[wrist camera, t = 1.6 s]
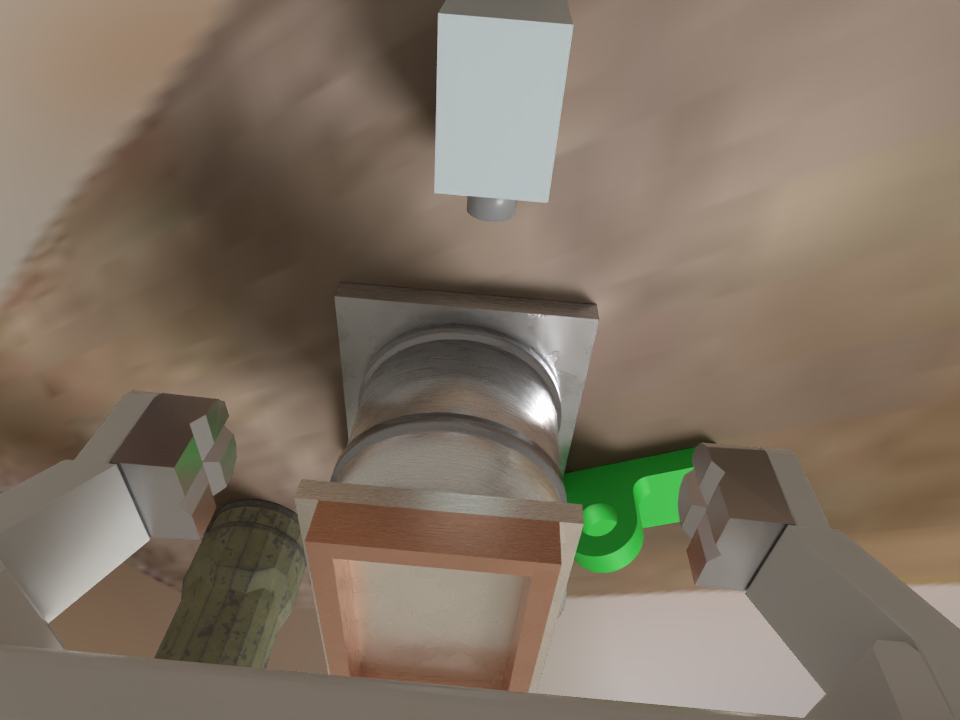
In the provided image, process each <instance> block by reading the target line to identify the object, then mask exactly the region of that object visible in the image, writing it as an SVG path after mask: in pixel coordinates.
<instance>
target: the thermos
mask: <svg viewBox="0 0 960 720" xmlns="http://www.w3.org/2000/svg"><path fill="white" fill-rule="evenodd" d="M305 567H306V556H305V551H304V546H303V541H302V535H301V530H300V525H299V520H298V515H297V514H296V513H295V512H293V511H291V510H289V509H287V508H285V507H283V506H281V505H278V504H274V503H271V502H267V501H262V500H250V499H248V500H240V501H234V502H232V503H230V504H227V505H225V506H223V507H222V509H221V510H220V511H219V512H218V513H217V515H216V517H215V520H214V523H213V526H212V528H211V530H210V531H209V532H208V533H207V534H206V536H205V537H204V538H203V540H202V542H201V544H200V546H199V548H198V550H197V552H196V554H195V556H194V558H193V561H192V563H191V565H190V567H189V569H188V571H187V573H186V575H185V577H184V579H183V586H182V596H181V602H180V604H179V607H178V609H177V611H176V613H175V615H174V617H173V619H172V622H171V624H170V626H169V628H168V630H167V632H166V634H165V636H164V638H163V641H162V643H161V645H160V647H159V649H158V651H157V653H156V656H155V659H166V660H177V661H188V662H199V663H210V664H221V665H231V666H242V667H253V668H264V669H266V667H267V663H268V661H269V657H270V655H271V651H272V648H273V645H274V642H275V639H276V636H277V633H278V630H279V629H280V627H281V626H282V625H283V623H284V622H285V621H286V619H287V618H288V617H289V615H290V614H291V611H292V608H293V605H294V602H295V599H296V596H297V593H298V590H299V586H300V583H301V580H302V577H303V574H304V571H305Z"/></svg>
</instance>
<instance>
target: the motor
mask: <svg viewBox="0 0 960 720" xmlns="http://www.w3.org/2000/svg"><path fill="white" fill-rule="evenodd" d="M334 297H335V307H336V317H337V327H338V338H339V348H340V358H341V368H342V378H343V388H344V399H345V409H346V419H347V429H348V439H349V441H348V444H347V446H346V447H345V448H344V450H343V451H342V453H341V454H340V456H339V458H338V460H337V463H336V465H335V468H334V471H333V474H332V477H331V480H330V482H327V481H316V480H305V479H301V481H300V484H299V486H298V489H297V492H296V494H295V497H294V499H295V505H296V510H297V515H298V520H299V525H300V530H301V535H302V541H303V546H304V551H305V556H306V561H307V566H308V571H309V579H310V584H311V587H312V592H313V597H314V602H315V607H316V613H317V617H318V623H319V628H320V633H321V638H322V643H323V649H324V654H325V659H326V664H327V669H328V674H329V675H340V676H351V677H362V678H373V679H384V680H395V681H406V682H417V683H428V684H439V685H450V686H461V687H472V688H483V689H493V690H504V691H515V692H526V693H537V689H538V686H539V681H540V678H541V675H542V671H543V667H544V664H545V660H546V657H547V653H548V649H549V646H550V643H551V639H552V636H553V632H554V628H555V625H556V621H557V619H558V618H559V616H560V615H561V614H562V611H563V609H564V606H565V603H566V597H567V593H566V585H567V582H568V578H569V575H570V571H571V568H572V564H573V560H574V557H575V553H576V550H577V546H578V543H579V539H580V535H581V532H582V528H583V525H584V522H583V510H582V504H571V503H567V495H566V486H565V482H564V479H563V476H564V472H565V467H566V463H567V459H568V454H569V450H570V445H571V441H572V437H573V432H574V428H575V424H576V419H577V415H578V410H579V406H580V402H581V397H582V393H583V388H584V384H585V380H586V375H587V371H588V366H589V362H590V358H591V353H592V349H593V345H594V340H595V336H596V331H597V327H598V323H599V315H598V309H597V305H593V304H582V303H570V302H559V301H548V300H536V299H525V298H514V297H502V296H491V295H479V294H468V293H457V292H445V291H434V290H423V289H411V288H400V287H389V286H377V285H366V284H354V283H343V282H341V283H340V285H339V287H338V289H337V292H336V294H335V296H334Z"/></svg>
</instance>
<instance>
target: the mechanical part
mask: <svg viewBox="0 0 960 720" xmlns="http://www.w3.org/2000/svg"><path fill="white" fill-rule="evenodd" d="M713 444H716V443H713ZM695 448H696V447H694V448H689V449H684V450H679V451H674V452H669V453H664V454H659V455H654V456H649V457H645V458H640V459H635V460H630V461H625V462H620V463H615V464H610V465H605V466H600V467H595V468H590V469H585V470H581V471H576V472H571V473H566V474H564V476H563V479H564V482H565V486H566V495H567V503H571V504H582V510H583V522H584V525H583V528H582V532H581V535H580V539H579V543H578V546H577V550H576V553H575V557H574V560H575V561H576V562H577V563H578V564H579V565H580V566H582V567H583V568H585V569H587V570H590V571H593V572H599V573H607V572H613V571H616V570H619V569H621V568H623V567H625V566H626V565H628V564H629V563H630V562H631V561H632V560H633V559H634V558H635V557H636V556H637V555H638V553H639V551H640V549H641V547H642V544H643V529H642V528H646V527H652V526H658V525H664V524H669V523H675V522H680V520H679V514H678V496H679V488H680V485H681V482H682V480H683V477H684V475H685V474H687V473H688V472H690V471H692V470H693V469H694V466H693V462H692V458H691V457H692V455H693V453H694V451H695ZM600 535H602V536H600Z"/></svg>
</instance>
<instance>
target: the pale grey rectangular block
mask: <svg viewBox="0 0 960 720" xmlns="http://www.w3.org/2000/svg"><path fill="white" fill-rule="evenodd" d="M573 25H574V24H573V21H572V17H571V14H570V10H569V7H568V3H567V0H446V1H445V2H444V4H443V6H442V7H441V9H440V11H439V12H438V38H437V89H436V140H435V190H434V193H440V194H451V195H463V196H467V212H468V213H469V214H470V215H471V216H473V217H475V218H477V219H480V220H484V221H504V220H508V219H510V218H512V217H513V216H514V214H515V208H516V200H520V201H531V202H543V203H548V199H549V192H550V185H551V178H552V172H553V165H554V158H555V151H556V144H557V137H558V130H559V123H560V116H561V109H562V102H563V95H564V88H565V81H566V74H567V67H568V60H569V53H570V46H571V39H572V32H573Z"/></svg>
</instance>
